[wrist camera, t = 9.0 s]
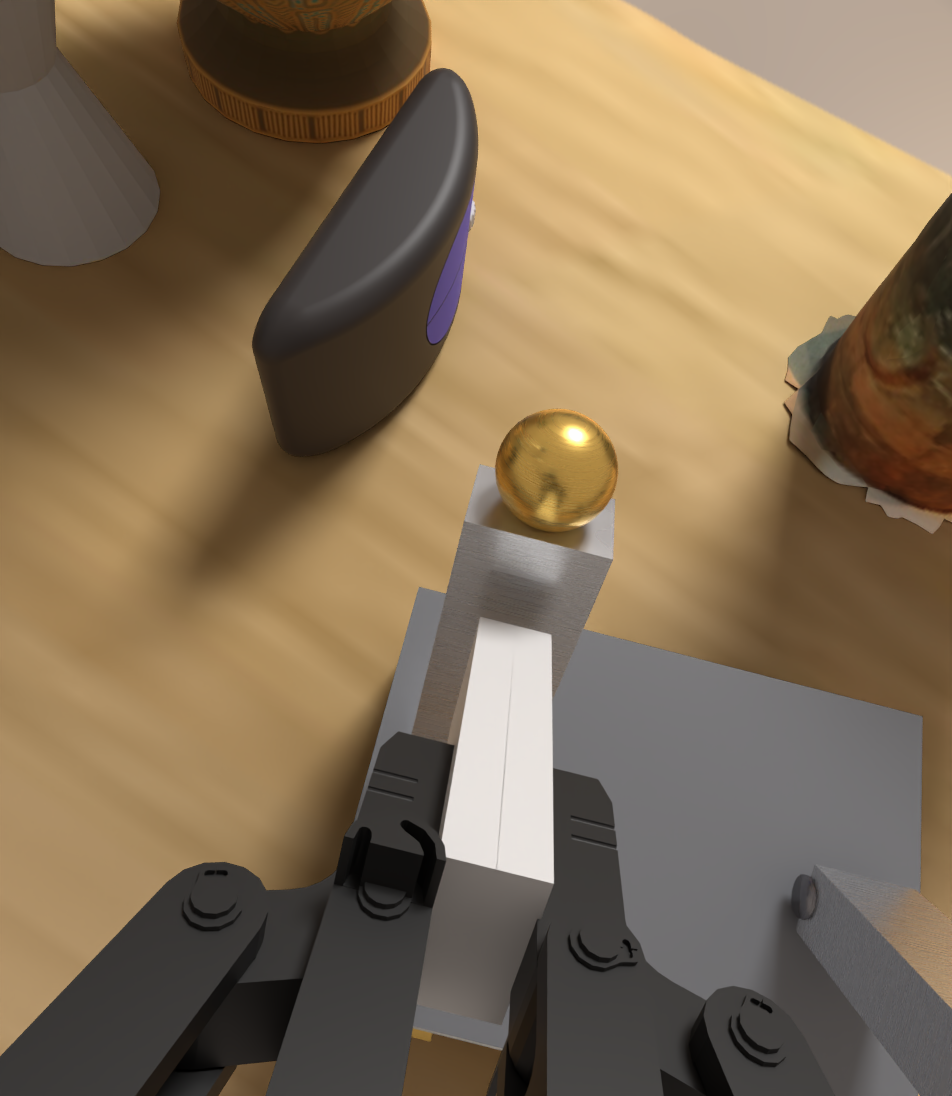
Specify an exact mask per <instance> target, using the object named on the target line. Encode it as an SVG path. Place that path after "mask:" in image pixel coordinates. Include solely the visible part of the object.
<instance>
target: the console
mask: <svg viewBox="0 0 952 1096" xmlns="http://www.w3.org/2000/svg"><path fill="white" fill-rule="evenodd" d="M445 597H446V594H445V593H441V592H437V591H433V590H429V589H425V588H421V587H419V589H418V592H417V596H416V600H415V603H414V607H413V610H412V614H411V618H410V621H409V625H408V628H407V632H406V636H405V639H404V643H403V646H402V650H401V654H400V657H399V661H398V664H397V668H396V672H395V675H394V679H393V682H392V686H391V690H390V693H389V697H388V701H387V704H386V708H385V711H384V715H383V719H382V722H381V726H380V729H379V733H378V737H377V740H376V744H375V747H374V751H373V755H372V758H371V762H370V765H369V769H368V773H367V776H366V780H365V783H364V787H363V791H362V794H361V798H360V801H359V805H358V809H357V812H356V816H355V819H354V822H355V821H356V820H357V819H358V816H359V813H360V810H361V806H362V803H363V800H364V797H365V794H366V791H367V788H368V785H369V781H370V778H371V775H372V772H373V769H374V766H375V763H376V760H377V756H378V753H379V750H380V747H381V746H382V745H383V744H384V743H386V742H387V741H388V740H389V739H390V738H391V737H392V736H394V735H395V734H396V733H397V732H398V731H399V732H403V733H407V734H412V730H413V726H414V722H415V718H416V714H417V709H418V705H419V701H420V697H421V693H422V689H423V685H424V681H425V677H426V673H427V669H428V665H429V661H430V657H431V653H432V649H433V645H434V641H435V637H436V633H437V629H438V625H439V621H440V617H441V613H442V609H443V605H444V601H445ZM922 722H923V716H919V715H915V714H911V713H907V712H904V711H900V710H896V709H892V708H888V707H884V706H880V705H876V704H872V703H869V702H865V701H861V700H857V699H853V698H849V697H845V696H841V695H837V694H834V693H830V692H826V691H822V690H818V689H814V688H810V687H806V686H802V685H799V684H795V683H791V682H787V681H783V680H779V679H775V678H771V677H767V676H764V675H760V674H756V673H752V672H748V671H744V670H740V669H736V668H732V667H729V666H725V665H721V664H717V663H713V662H709V661H705V660H701V659H697V658H694V657H690V656H686V655H682V654H678V653H674V652H670V651H666V650H662V649H659V648H655V647H651V646H647V645H643V644H639V643H635V642H631V641H627V640H624V639H620V638H616V637H612V636H608V635H604V634H600V633H596V632H592V631H589V630H585V629H583V630H582V633H581V635H580V637H579V640H578V642H577V644H576V647H575V649H574V651H573V654H572V656H571V658H570V661H569V663H568V665H567V668H566V670H565V672H564V675H563V677H562V679H561V682H560V684H559V686H558V689H557V691H556V693H555V696H554V698H553V700H552V741H553V768H555V769H559V770H563V771H567V772H571V773H575V774H579V775H583V776H587V777H591V778H595V779H598V780H599V781H600V783H601V785H602V786H603V788H604V790H605V791H606V793H607V795H608V796H609V798H610V800H611V801H612V805H613V814H614V823H615V828H614V831H616V840H617V848H616V850H618V858H619V867H620V876H621V885H622V894H623V903H624V911H625V920H626V925H627V927H628V928H629V929H630V930H631V932H632V933H633V934H634V936H635V937H636V938H637V940H638V941H639V942H640V945H641V948H642V951H643V954H644V957H645V960H646V961H647V962H648V963H649V964H650V965H651V966H652V967H653V968H654V969H655V970H656V971H657V972H659V973H660V974H662V975H663V976H665V977H666V978H668V979H669V980H671V981H672V982H674V983H676V984H678V985H680V986H681V987H683V988H685V989H687V990H689V991H690V992H692V993H694V994H696V995H698V996H700V997H701V998H703V999H705V1000H707V999H708V998H709V997H710V996H711V995H712V994H713V993H714V992H715V991H716V990H717V989H720V988H725V987H730V986H736V987H741V988H746V989H751V990H753V991H755V992H757V993H759V994H761V995H763V996H765V997H766V998H768V999H770V1000H772V1001H773V1002H774V1003H775V1004H776V1005H778V1006H779V1007H780V1008H781V1009H782V1010H783V1011H784V1012H785V1013H787V1014H788V1015H789V1016H790V1017H791V1019H792V1020H793V1021H794V1023H795V1024H796V1026H797V1027H798V1029H799V1030H800V1031H801V1033H802V1034H803V1036H804V1037H805V1039H806V1041H807V1043H808V1045H809V1047H810V1049H811V1051H812V1052H813V1054H814V1056H815V1058H816V1060H817V1062H818V1064H819V1066H820V1068H821V1069H822V1071H823V1073H824V1075H825V1077H826V1079H827V1081H828V1083H829V1085H830V1086H831V1088H832V1090H833V1092H834V1094H835V1096H918V1092H917V1091H916V1089H915V1088H914V1087H913V1085H912V1084H911V1083H910V1081H909V1080H908V1079H907V1077H906V1076H905V1075H904V1074H903V1072H902V1071H901V1070H900V1068H899V1067H898V1066H897V1064H896V1063H895V1062H894V1060H893V1059H892V1058H891V1056H890V1055H889V1054H888V1052H887V1051H886V1050H885V1048H884V1047H883V1046H882V1044H881V1043H880V1042H879V1040H878V1039H877V1038H876V1036H875V1035H874V1034H873V1032H872V1031H871V1030H870V1028H869V1027H868V1026H867V1024H866V1023H865V1022H864V1020H863V1019H862V1018H861V1016H860V1015H859V1014H858V1013H857V1011H856V1010H855V1009H854V1007H853V1006H852V1005H851V1003H850V1002H849V1001H848V999H847V998H846V997H845V995H844V994H843V993H842V991H841V990H840V989H839V987H838V986H837V985H836V983H835V982H834V981H833V979H832V978H831V977H830V975H829V974H828V973H827V971H826V970H825V969H824V967H823V966H822V965H821V963H820V962H819V961H818V959H817V958H816V957H815V955H814V954H813V953H812V952H811V950H810V949H809V948H808V946H807V945H806V944H805V942H804V941H803V940H802V938H801V937H800V936H799V934H798V933H797V932H796V926H797V923H798V919H799V918H797V917H796V916H795V914H794V912H793V909H792V902H791V895H792V888H793V885H794V882H795V880H796V878H797V877H798V876H799V875H801V874H805V875H809V876H811V874H812V871H813V867H814V864H817V865H821V866H825V867H829V868H833V869H836V870H840V871H844V872H848V873H852V874H856V875H860V876H864V877H868V878H872V879H876V880H880V881H884V882H888V883H891V884H895V885H899V886H903V887H907V888H911V889H915V890H917V891H918V892H919V893H920V877H921V800H922ZM509 1010H510V1004H509V1006H508V1009H507V1012H506V1014H505V1017H504V1020H503V1022H502V1025H498V1024H493V1023H489V1022H485V1021H481V1020H477V1019H473V1018H469V1017H465V1016H461V1015H457V1014H453V1013H449V1012H445V1011H441V1010H436V1009H432V1008H428V1007H424V1006H420V1005H417V1006H416V1012H415V1018H414V1024H413V1030H412V1036H411V1037H413V1038H417V1039H421V1040H425V1041H429V1042H431V1038H432V1033H433V1034H437V1035H441V1036H445V1037H449V1038H453V1039H457V1040H461V1041H465V1042H469V1043H473V1044H477V1045H481V1046H485V1047H489V1048H493V1049H497V1050H501V1051H502V1050H503V1047H504V1044H505V1042H506V1039H507V1036H508V1030H509Z"/></svg>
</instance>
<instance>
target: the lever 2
mask: <svg viewBox="0 0 952 1096" xmlns="http://www.w3.org/2000/svg"><path fill="white" fill-rule="evenodd" d="M791 902H792V909H793V912H794V914H795V916H796V917H797V918H799V919H798V923H797V926H796V932H797V933H798V934H799V936H800V937H801V938H802V940H803V941H804V942H805V944H806V945H807V946H808V948H809V949H810V950H811V952H812V953H813V954H814V955H815V957H816V958H817V959H818V961H819V962H820V963H821V965H822V966H823V967H824V969H825V970H826V971H827V973H828V974H829V975H830V977H831V978H832V979H833V981H834V982H835V983H836V985H837V986H838V987H839V989H840V990H841V991H842V993H843V994H844V995H845V997H846V998H847V999H848V1001H849V1002H850V1003H851V1005H852V1006H853V1007H854V1009H855V1010H856V1011H857V1013H858V1014H859V1015H860V1016H861V1018H862V1019H863V1020H864V1022H865V1023H866V1024H867V1026H868V1027H869V1028H870V1030H871V1031H872V1032H873V1034H874V1035H875V1036H876V1038H877V1039H878V1040H879V1042H880V1043H881V1044H882V1046H883V1047H884V1048H885V1050H886V1051H887V1052H888V1054H889V1055H890V1056H891V1058H892V1059H893V1060H894V1062H895V1063H896V1064H897V1066H898V1067H899V1068H900V1070H901V1071H902V1072H903V1074H904V1075H905V1076H906V1077H907V1079H908V1080H909V1081H910V1083H911V1084H912V1085H913V1087H914V1088H915V1089H916V1091H917V1092H918V1093H919V1095H920V1096H952V921H951V920H950V919H949V918H948V917H947V916H946V915H944V914H943V913H942V912H941V911H940V910H939V909H937V908H936V907H935V906H934V905H933V904H932V903H931V902H929V901H928V900H927V899H926V898H925V897H924V896H923V895H921V894H920V893H919V892H918V891H917V890H915V889H911V888H907V887H903V886H899V885H895V884H891V883H888V882H884V881H880V880H876V879H872V878H868V877H864V876H860V875H856V874H852V873H848V872H844V871H840V870H836V869H833V868H829V867H825V866H821V865H817V864H814V867H813V871H812V874H811V876H809V875H805V874H801V875H799V876H798V877H797V878H796V880H795V882H794V885H793V888H792V895H791Z"/></svg>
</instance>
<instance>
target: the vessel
mask: <svg viewBox="0 0 952 1096" xmlns="http://www.w3.org/2000/svg"><path fill="white" fill-rule="evenodd" d="M785 380H786V381H787V382H789V383H790V384H792V385H793V386H795V387H797V388H798V390H797V391H796V392H795V393H794V394H793V395H791V396H790V397H789V398H788V399H787V400H786V401H785V402H784V403H785V404H786V406H787V407H788V409H789V410H790V411H791V413H792V420H791V426H790V436H789V440H790V441H791V442H792V443H793V444H794V445H795V446H796V447H797V448H799V449H800V450H801V451H802V452H803V453H804V454H805V455H806V456H807V457H808V458H809V459H810V460H811V461H812V462H813V464H814V465H815V466H816V467H817V468H818V469H819V470H820V471H821V472H822V473H824V474H825V475H826V476H827V477H829V478H830V479H832V480H833V481H835V482H837V483H839V484H845V485H851V486H861V487H868V491H867V496H866V500H865V502H870V503H874V504H878V505H881V506H882V508H883V509H884V511H885V513H886V514H887V516H888V517H892V518H901V517H903V518H905V519H907V520H909V521H911V522H913V523H915V524H917V525H919V526H920V527H922V528H923V529H925V530H926V531H928V532H930V533H931V534H933V533H934V532H935V531H936V530H937V529H938V528H939V527H940V525H941V523H942V522H943V520H944V519H945V520H948V521H950V522H952V193H951V194H950V196H949V197H948V198H947V199H946V201H945V202H944V203H943V204H942V206H941V207H940V208H939V209H938V211H937V212H936V213H935V214H934V216H933V217H932V218H931V219H930V220H929V222H928V223H927V225H926V226H925V227H924V229H923V230H922V232H921V233H920V235H919V236H918V238H917V239H916V241H915V242H914V243H913V244H912V246H911V247H910V248H909V249H908V251H907V252H906V253H905V254H904V256H903V257H902V258H901V259H900V261H899V262H898V263H897V264H896V266H895V267H894V268H893V270H892V271H891V272H890V274H889V275H888V276H887V278H886V279H885V280H884V281H883V282H882V284H881V285H880V286H879V287H878V289H877V290H876V291H875V292H874V294H873V295H872V296H871V298H870V299H869V300H868V301H867V303H866V304H865V305H864V307H863V308H862V309H861V311H860V312H859V313H858V315H857V316H856V317H855V316H851V315H845V316H842V317H840V318H838V319H836V318H834V317H832V316H830V318H829V319H828V321H827V323H826V325H825V327H824V329H823V332H822V333H821V334H819V335H817V336H816V337H814V338H812V339H810V340H809V341H807V342H805V343H804V344H802V345H800V346H799V347H797V348H796V350H795V351H794V352H793V353H792V354H791V355H790V356H789V357H788V372H787V375H786V378H785Z"/></svg>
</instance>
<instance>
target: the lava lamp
mask: <svg viewBox="0 0 952 1096" xmlns="http://www.w3.org/2000/svg"><path fill="white" fill-rule="evenodd" d="M159 197H160V188H159V185H158V182H157V178H156V175H155V172H154V170H153V169H152V168H151V166H150V165H149V164H148V163H147V161H146V160H145V159H144V157H143V156H142V155H141V154H140V152H139V151H138V150H137V149H136V147H135V146H134V145H133V143H132V142H131V141H130V140H129V138H128V137H127V136H126V135H125V133H124V132H123V131H122V129H121V128H120V127H119V126H118V124H117V123H116V122H115V121H114V119H113V118H112V117H111V115H110V114H109V113H108V112H107V110H106V109H105V108H104V107H103V105H102V104H101V103H100V101H99V100H98V99H97V98H96V96H95V95H94V94H93V93H92V91H91V90H90V89H89V87H88V86H87V85H86V84H85V82H84V81H83V80H82V79H81V77H80V76H79V75H78V73H77V72H76V71H75V70H74V68H73V67H72V66H71V65H70V63H69V62H68V61H67V59H66V58H65V57H64V56H63V54H62V53H61V52H60V51H59V49H58V48H57V47H56V27H55V0H0V247H1V248H2V249H4V250H5V251H7V252H8V253H10V254H11V255H13V256H14V257H17V258H20V259H23V260H27V261H30V262H33V263H37V264H40V265H51V266H76V265H81V264H86V263H91V262H96V261H101V260H103V259H105V258H107V257H109V256H112V255H114V254H116V253H118V252H120V251H122V250H124V249H126V248H128V247H129V246H130V245H131V244H132V243H133V242H135V241H136V240H137V239H138V238H139V237H140V236H141V235H143V234H144V233H145V232H146V231H147V229H148V227H149V225H150V224H151V222H152V220H153V219H154V217H155V215H156V213H157V212H158V204H159Z"/></svg>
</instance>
